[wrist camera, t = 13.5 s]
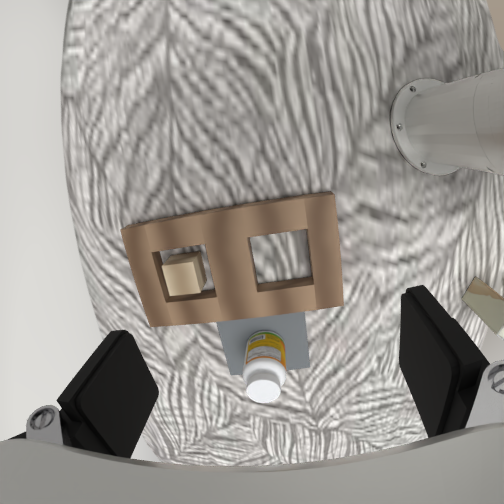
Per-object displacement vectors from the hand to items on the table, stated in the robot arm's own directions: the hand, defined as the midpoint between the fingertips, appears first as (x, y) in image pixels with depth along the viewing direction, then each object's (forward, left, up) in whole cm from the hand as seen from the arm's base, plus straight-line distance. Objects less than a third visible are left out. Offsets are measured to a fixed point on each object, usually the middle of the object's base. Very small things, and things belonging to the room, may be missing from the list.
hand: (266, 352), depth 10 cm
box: (-30, +18, -29) cm, 45 cm away
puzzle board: (+6, +7, -29) cm, 30 cm away
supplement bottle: (+4, +20, -28) cm, 34 cm away
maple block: (+12, +7, -29) cm, 32 cm away
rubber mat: (+4, +20, -29) cm, 35 cm away
